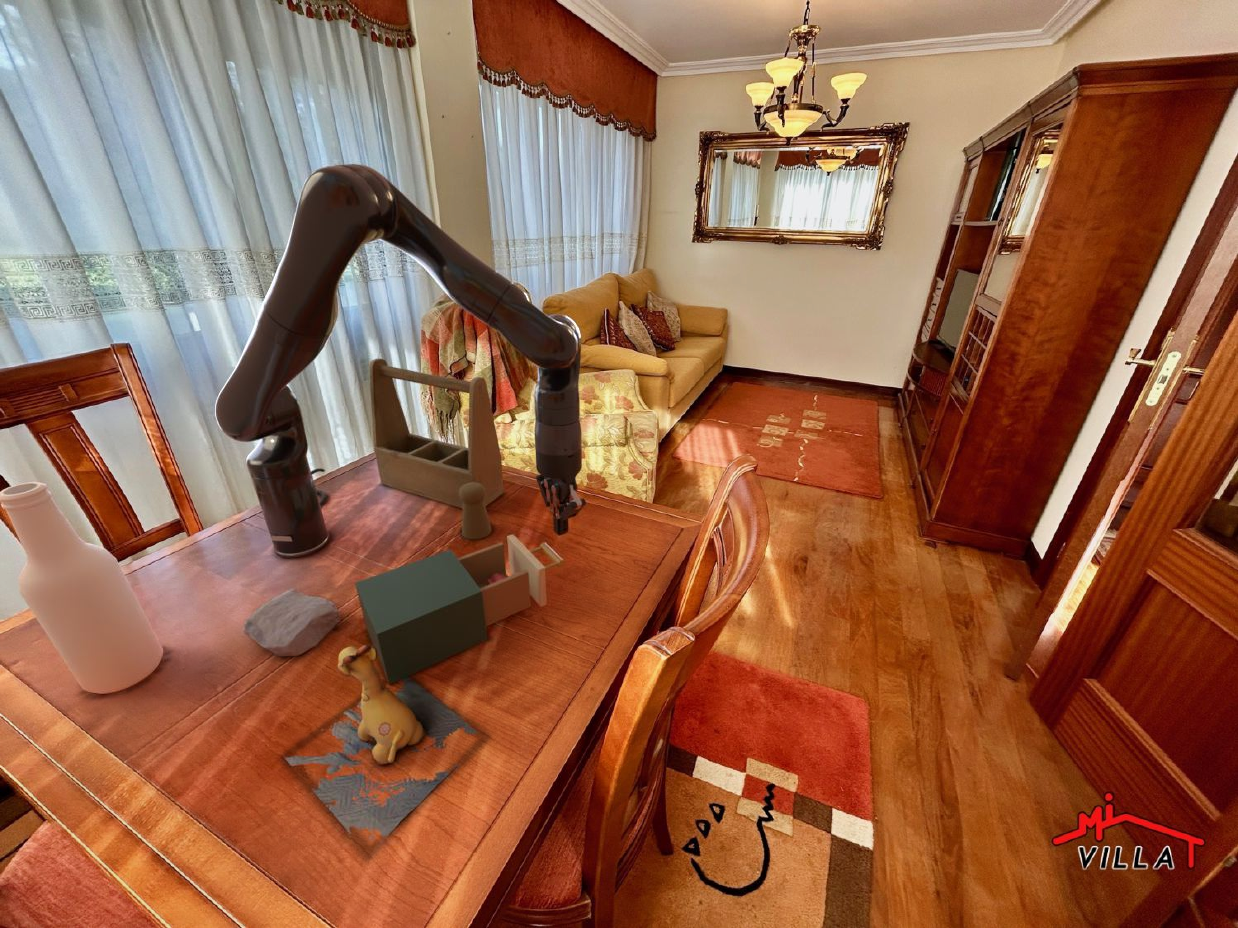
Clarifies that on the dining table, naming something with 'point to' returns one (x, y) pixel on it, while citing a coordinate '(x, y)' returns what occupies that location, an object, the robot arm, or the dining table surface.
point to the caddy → (433, 441)
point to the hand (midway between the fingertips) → (561, 532)
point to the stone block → (292, 623)
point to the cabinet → (422, 614)
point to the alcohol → (80, 596)
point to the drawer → (510, 577)
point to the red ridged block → (495, 578)
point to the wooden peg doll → (474, 511)
